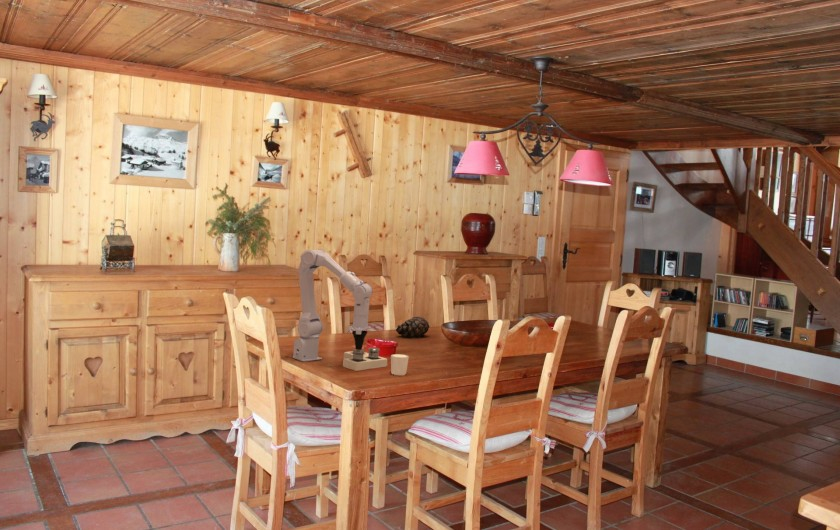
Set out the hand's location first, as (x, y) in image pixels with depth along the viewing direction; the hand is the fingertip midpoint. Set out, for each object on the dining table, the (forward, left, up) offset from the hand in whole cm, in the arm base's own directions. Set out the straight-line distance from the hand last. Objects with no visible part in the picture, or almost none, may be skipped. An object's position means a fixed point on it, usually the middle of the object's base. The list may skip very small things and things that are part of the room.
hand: (358, 349), depth 278 cm
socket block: (+4, +5, -7) cm, 10 cm away
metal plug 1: (0, 0, -5) cm, 5 cm away
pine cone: (+67, +38, -7) cm, 78 cm away
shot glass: (+8, -15, -7) cm, 18 cm away
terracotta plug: (+8, +10, -6) cm, 14 cm away
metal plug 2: (+8, 0, -5) cm, 9 cm away
